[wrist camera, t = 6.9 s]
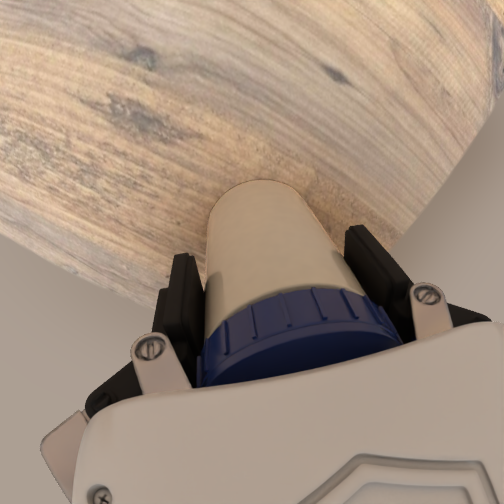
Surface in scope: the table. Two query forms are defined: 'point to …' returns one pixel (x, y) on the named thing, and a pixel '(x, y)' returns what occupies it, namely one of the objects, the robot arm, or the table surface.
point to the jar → (266, 251)
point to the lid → (294, 336)
